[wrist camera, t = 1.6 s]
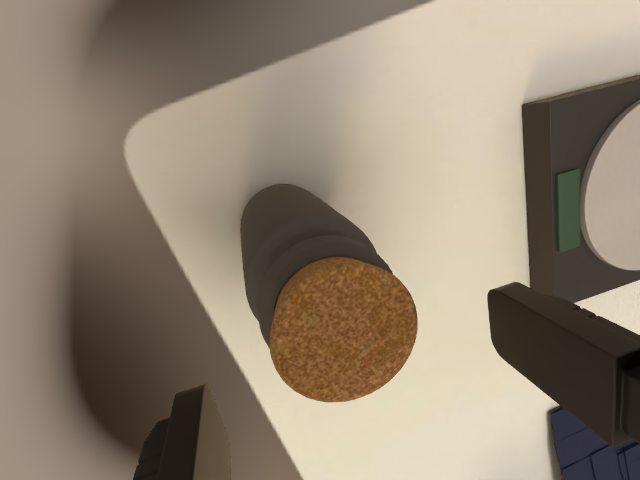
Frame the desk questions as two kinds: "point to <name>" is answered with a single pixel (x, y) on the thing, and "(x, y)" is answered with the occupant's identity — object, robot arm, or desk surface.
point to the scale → (584, 189)
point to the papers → (591, 452)
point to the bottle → (323, 297)
